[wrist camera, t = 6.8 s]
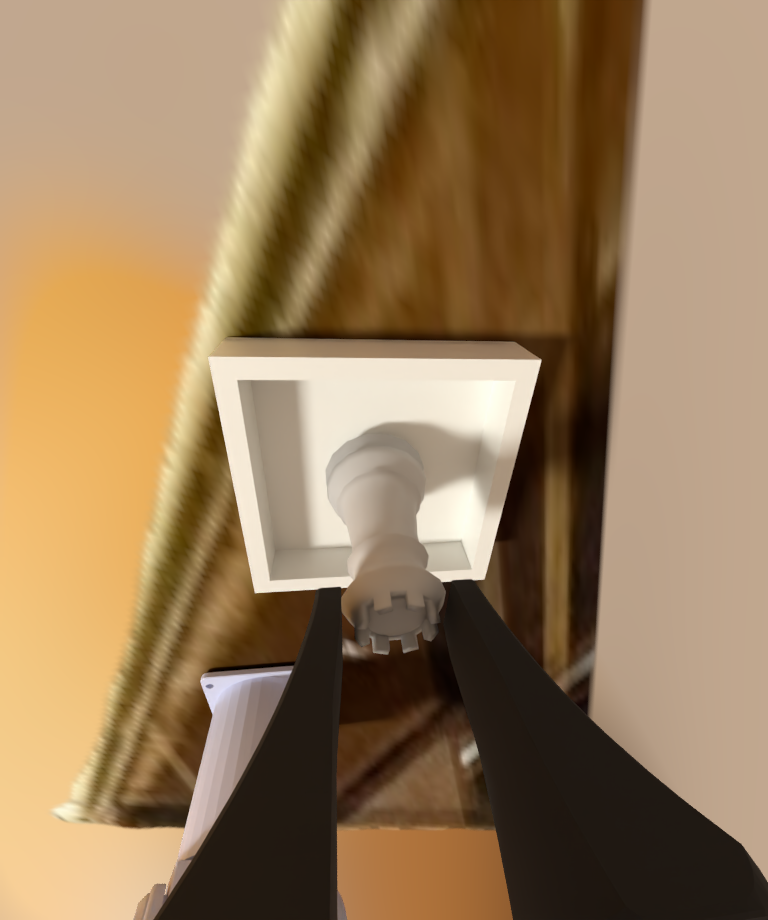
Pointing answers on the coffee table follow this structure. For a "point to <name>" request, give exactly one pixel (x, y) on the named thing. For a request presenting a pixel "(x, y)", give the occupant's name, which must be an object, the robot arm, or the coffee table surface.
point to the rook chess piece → (384, 541)
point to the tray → (358, 413)
